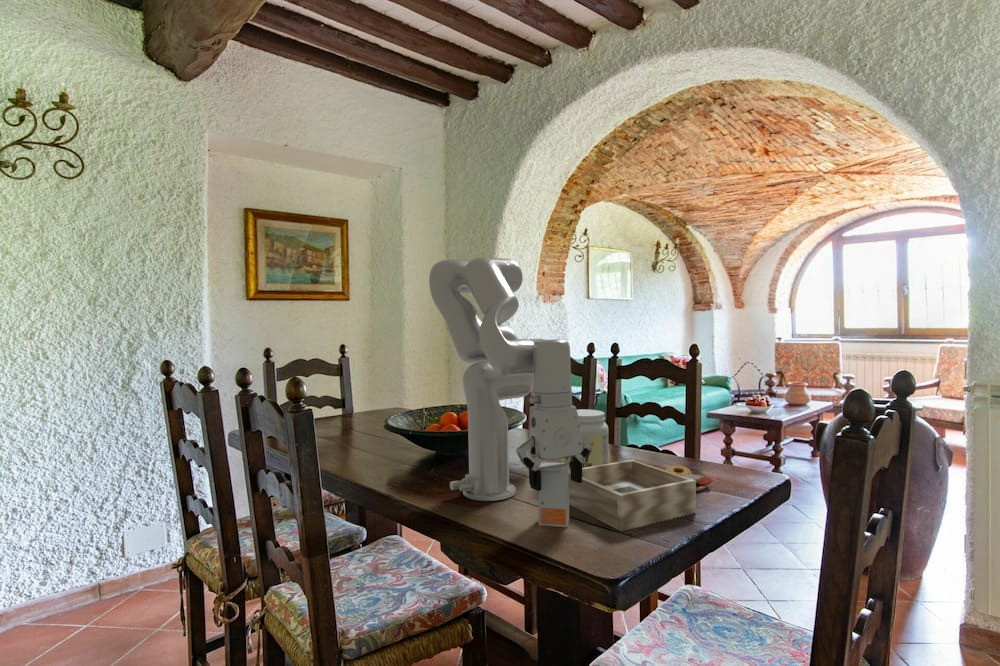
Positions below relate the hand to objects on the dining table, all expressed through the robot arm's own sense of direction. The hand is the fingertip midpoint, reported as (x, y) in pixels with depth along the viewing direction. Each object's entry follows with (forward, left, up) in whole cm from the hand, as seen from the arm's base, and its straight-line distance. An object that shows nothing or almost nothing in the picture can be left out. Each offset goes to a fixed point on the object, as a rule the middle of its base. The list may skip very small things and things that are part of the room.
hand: (556, 485), depth 112 cm
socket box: (+19, +1, -8) cm, 21 cm away
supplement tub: (+25, +25, -8) cm, 36 cm away
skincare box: (0, +1, -8) cm, 8 cm away
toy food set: (+41, +7, -9) cm, 42 cm away
